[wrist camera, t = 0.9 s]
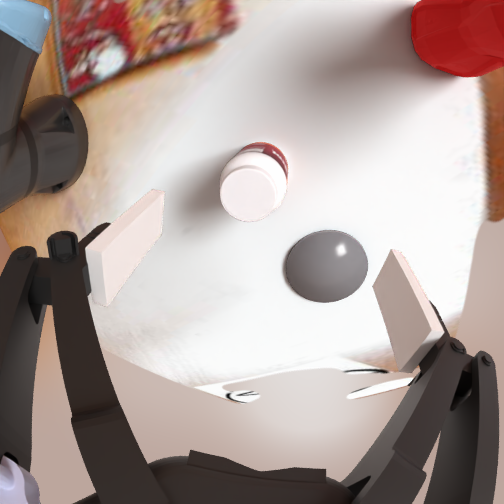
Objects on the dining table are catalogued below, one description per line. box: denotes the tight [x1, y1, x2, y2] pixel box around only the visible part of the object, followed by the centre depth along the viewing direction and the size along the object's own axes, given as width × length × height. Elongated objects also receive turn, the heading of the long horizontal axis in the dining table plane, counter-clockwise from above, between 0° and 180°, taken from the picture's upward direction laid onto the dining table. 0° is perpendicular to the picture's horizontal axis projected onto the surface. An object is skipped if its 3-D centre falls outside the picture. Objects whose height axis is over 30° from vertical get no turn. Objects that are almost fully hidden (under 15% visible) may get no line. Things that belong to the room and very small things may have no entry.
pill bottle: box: [219, 142, 288, 222], centre depth 28 cm, size 6×6×11 cm
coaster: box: [286, 230, 368, 303], centre depth 38 cm, size 11×11×1 cm
